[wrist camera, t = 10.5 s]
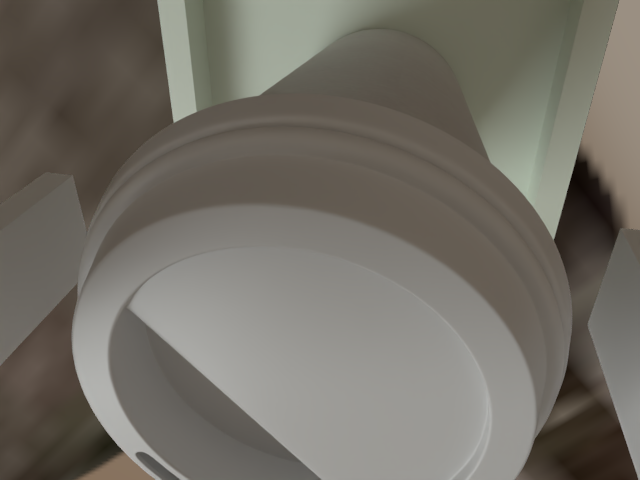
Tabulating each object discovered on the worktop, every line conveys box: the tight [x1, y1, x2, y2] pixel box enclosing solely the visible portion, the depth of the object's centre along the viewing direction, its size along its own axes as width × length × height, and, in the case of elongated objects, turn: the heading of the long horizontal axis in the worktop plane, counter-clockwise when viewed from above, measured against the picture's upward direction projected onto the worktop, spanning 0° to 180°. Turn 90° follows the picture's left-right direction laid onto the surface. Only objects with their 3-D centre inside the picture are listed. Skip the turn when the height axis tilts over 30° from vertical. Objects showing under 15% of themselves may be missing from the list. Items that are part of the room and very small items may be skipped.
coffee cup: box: [72, 29, 572, 480], centre depth 16 cm, size 10×10×15 cm
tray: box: [157, 0, 619, 240], centre depth 22 cm, size 17×15×2 cm
